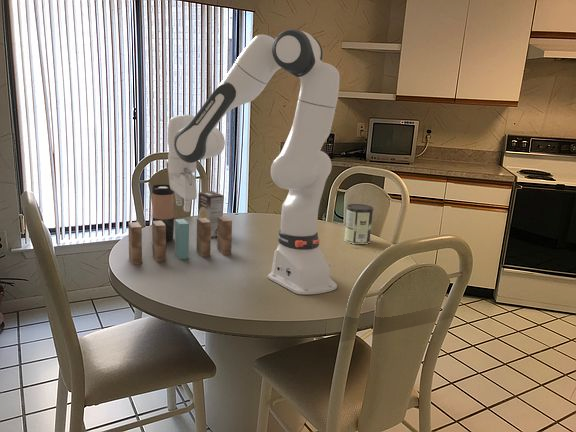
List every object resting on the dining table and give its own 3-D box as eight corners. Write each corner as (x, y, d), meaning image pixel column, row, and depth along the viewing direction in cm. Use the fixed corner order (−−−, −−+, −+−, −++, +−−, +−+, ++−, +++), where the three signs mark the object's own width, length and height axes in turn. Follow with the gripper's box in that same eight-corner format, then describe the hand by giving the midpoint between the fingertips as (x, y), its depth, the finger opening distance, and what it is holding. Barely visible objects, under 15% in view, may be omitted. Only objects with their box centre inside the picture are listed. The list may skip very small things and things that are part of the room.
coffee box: (197, 231, 189) (197, 191, 185) (211, 229, 193) (211, 190, 189) (209, 237, 182) (209, 196, 178) (223, 235, 186) (224, 195, 182)
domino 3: (204, 250, 167) (205, 217, 164) (210, 256, 161) (211, 222, 159) (196, 251, 165) (196, 218, 162) (201, 257, 160) (202, 222, 157)
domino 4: (225, 248, 170) (226, 216, 167) (231, 254, 165) (232, 220, 162) (217, 249, 169) (217, 216, 166) (222, 254, 164) (223, 221, 161)
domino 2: (183, 252, 163) (184, 219, 160) (188, 258, 158) (189, 223, 155) (175, 253, 162) (175, 219, 159) (179, 259, 157) (179, 224, 154)
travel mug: (173, 236, 181) (173, 184, 176) (174, 242, 174) (174, 188, 169) (152, 236, 179) (152, 184, 174) (152, 242, 172) (151, 188, 167)
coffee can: (356, 236, 196) (360, 202, 193) (375, 243, 188) (379, 208, 185) (338, 239, 190) (341, 205, 187) (356, 246, 182) (360, 210, 179)
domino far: (138, 257, 156) (138, 221, 153) (142, 263, 151) (141, 226, 148) (129, 258, 155) (128, 222, 152) (132, 264, 150) (131, 227, 147)
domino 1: (161, 255, 160) (161, 220, 157) (165, 260, 155) (165, 225, 152) (152, 255, 158) (152, 221, 156) (156, 261, 153) (156, 225, 150)
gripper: (201, 170, 145) (201, 214, 148) (183, 162, 163) (184, 201, 166) (181, 171, 142) (181, 216, 145) (165, 162, 160) (166, 202, 163)
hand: (182, 208), depth 156 cm, fingers open, 8 cm apart
